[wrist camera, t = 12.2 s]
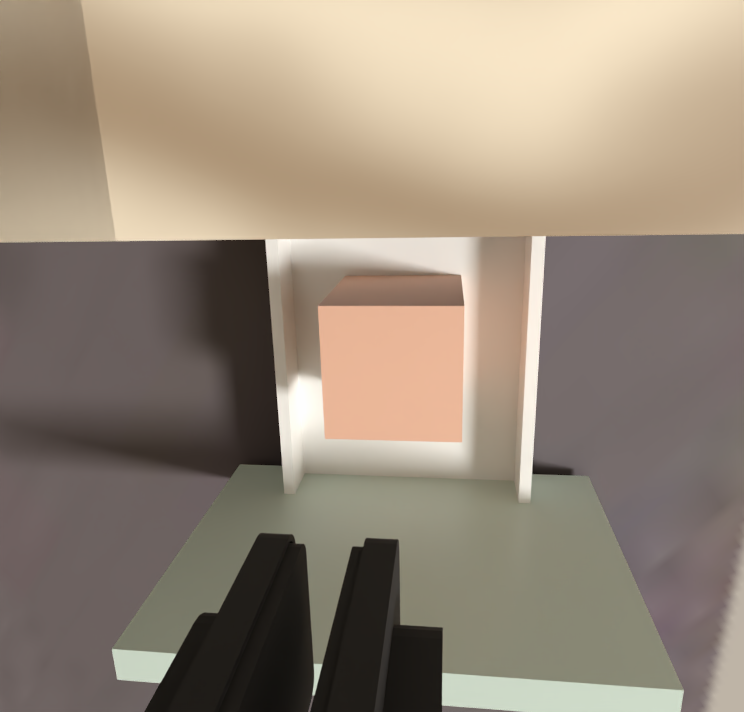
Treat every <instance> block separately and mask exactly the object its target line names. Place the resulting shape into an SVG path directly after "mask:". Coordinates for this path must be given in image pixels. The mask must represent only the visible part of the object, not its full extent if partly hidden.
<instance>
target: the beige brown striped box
mask: <svg viewBox="0 0 744 712" xmlns="http://www.w3.org/2000/svg"><path fill="white" fill-rule="evenodd" d="M690 234H744V0H0V242H83V241H170V240H256V239H343V238H430V237H516V236H603V235H690Z"/></svg>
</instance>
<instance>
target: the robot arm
mask: <svg viewBox="0 0 744 712" xmlns="http://www.w3.org/2000/svg"><path fill="white" fill-rule="evenodd" d="M442 658H443V628H442V627H427V626H411V625H400V559H399V540H398V539H380V538H366V539H365V541H364V546H363V547H358V546H353V547H352V549H351V553H350V557H349V561H348V565H347V569H346V573H345V577H344V581H343V584H342V588H341V592H340V596H339V600H338V604H337V608H336V612H335V616H334V620H333V624H332V628H331V632H330V636H329V640H328V644H327V648H326V652H325V656H324V660H323V664H322V668H321V672H320V676H319V680H318V684H317V688H316V692H315V695H314V699H313V703H312V707H311V711H310V712H442ZM313 686H314V661H313V646H312V631H311V615H310V600H309V585H308V569H307V554H306V547H305V545H304V544H297V543H295V538H294V536H293V535H292V534H274V533H260V534H259V535H258V536H257V538H256V540H255V542H254V544H253V546H252V548H251V549H250V551H249V553H248V555H247V557H246V559H245V561H244V563H243V565H242V567H241V569H240V571H239V573H238V575H237V577H236V579H235V581H234V583H233V585H232V586H231V588H230V590H229V592H228V594H227V596H226V598H225V600H224V602H223V604H222V606H221V608H220V610H219V612H218V613H207V612H204V613H202V614H200V615H199V616H198V618H197V619H196V620H195V622H194V623H193V625H192V627H191V629H190V631H189V632H188V634H187V636H186V638H185V640H184V641H183V643H182V645H181V647H180V649H179V650H178V652H177V654H176V656H175V658H174V659H173V661H172V663H171V665H170V667H169V668H168V670H167V672H166V674H165V676H164V678H163V679H162V681H161V683H160V685H159V687H158V688H157V690H156V692H155V694H154V696H153V697H152V699H151V701H150V703H149V705H148V706H147V708H146V710H145V712H308V710H309V706H310V702H311V698H312V693H313Z"/></svg>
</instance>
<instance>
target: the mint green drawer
mask: <svg viewBox="0 0 744 712" xmlns="http://www.w3.org/2000/svg"><path fill="white" fill-rule="evenodd" d="M545 240H546V236H516V237H430V238H343V239H265V242H266V256H267V269H268V282H269V296H270V309H271V322H272V336H273V349H274V363H275V376H276V389H277V403H278V416H279V429H280V443H281V456H282V466H274V465H244V464H240V465H239V466H238V468H237V469H236V471H235V472H234V474H233V475H232V476H231V478H230V479H229V481H228V482H227V484H226V485H225V487H224V488H223V489H222V491H221V492H220V494H219V495H218V497H217V498H216V500H215V501H214V502H213V504H212V505H211V507H210V508H209V510H208V511H207V512H206V514H205V515H204V517H203V518H202V520H201V521H200V523H199V524H198V525H197V527H196V528H195V530H194V531H193V533H192V534H191V536H190V537H189V538H188V540H187V541H186V543H185V544H184V546H183V547H182V549H181V550H180V551H179V553H178V554H177V556H176V557H175V559H174V560H173V562H172V563H171V564H170V566H169V567H168V569H167V570H166V572H165V573H164V574H163V576H162V577H161V579H160V580H159V582H158V583H157V585H156V586H155V587H154V589H153V590H152V592H151V593H150V595H149V596H148V598H147V599H146V600H145V602H144V603H143V605H142V606H141V608H140V609H139V611H138V612H137V613H136V615H135V616H134V618H133V619H132V621H131V622H130V624H129V625H128V626H127V628H126V629H125V631H124V632H123V634H122V635H121V636H120V638H119V639H118V641H117V642H116V644H115V645H114V647H113V648H112V653H113V658H114V664H115V669H116V675H117V680H128V681H141V682H153V683H161V681H162V679H163V678H164V676H165V674H166V672H167V670H168V668H169V667H170V665H171V663H172V661H173V659H174V658H175V656H176V654H177V652H178V650H179V649H180V647H181V645H182V643H183V641H184V640H185V638H186V636H187V634H188V632H189V631H190V629H191V627H192V625H193V623H194V622H195V620H196V619H197V618H198V616H199V615H200V614H202V613H204V612H207V613H218V612H219V610H220V608H221V606H222V604H223V602H224V600H225V598H226V596H227V594H228V592H229V590H230V588H231V586H232V585H233V583H234V581H235V579H236V577H237V575H238V573H239V571H240V569H241V567H242V565H243V563H244V561H245V559H246V557H247V555H248V553H249V551H250V549H251V548H252V546H253V544H254V542H255V540H256V538H257V536H258V535H259V534H260V533H274V534H292V535H293V536H294V538H295V543H297V544H304V545H305V547H306V554H307V569H308V585H309V600H310V615H311V631H312V646H313V661H314V686H313V693H312V695H315V692H316V688H317V684H318V680H319V676H320V672H321V668H322V664H323V660H324V656H325V652H326V648H327V644H328V640H329V636H330V632H331V628H332V624H333V620H334V616H335V612H336V608H337V604H338V600H339V596H340V592H341V588H342V584H343V581H344V577H345V573H346V569H347V565H348V561H349V557H350V553H351V549H352V547H353V546H358V547H363V546H364V541H365V539H366V538H380V539H398V540H399V559H400V625H411V626H427V627H442V628H443V658H442V705H445V706H458V707H471V708H484V709H496V710H509V711H522V712H680V711H681V704H682V698H683V692H684V690H683V688H682V686H681V683H680V681H679V679H678V677H677V674H676V672H675V670H674V668H673V665H672V663H671V661H670V659H669V656H668V654H667V652H666V650H665V647H664V645H663V643H662V641H661V638H660V636H659V634H658V632H657V629H656V627H655V625H654V623H653V620H652V618H651V616H650V614H649V611H648V609H647V607H646V605H645V602H644V600H643V598H642V596H641V593H640V591H639V589H638V587H637V585H636V582H635V580H634V578H633V576H632V573H631V571H630V569H629V567H628V564H627V562H626V560H625V558H624V555H623V553H622V551H621V549H620V546H619V544H618V542H617V540H616V537H615V535H614V533H613V531H612V528H611V526H610V524H609V522H608V519H607V517H606V515H605V513H604V510H603V508H602V506H601V504H600V501H599V499H598V497H597V495H596V492H595V490H594V488H593V486H592V483H591V481H590V479H589V477H588V476H571V475H542V474H532V465H533V448H534V431H535V413H536V396H537V379H538V361H539V344H540V327H541V309H542V292H543V275H544V257H545ZM390 275H461V279H462V288H463V297H464V360H463V415H462V442H427V441H389V440H351V439H325V432H324V413H323V395H322V376H321V357H320V338H319V320H318V305H319V304H320V303H321V302H322V301H323V300H324V299H325V297H326V296H327V295H328V294H329V293H330V292H331V291H332V290H333V289H334V288H335V287H336V285H337V284H338V283H339V282H340V281H341V280H342V279H343V278H344V277H345V276H390Z"/></svg>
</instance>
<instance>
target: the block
mask: <svg viewBox="0 0 744 712" xmlns="http://www.w3.org/2000/svg"><path fill="white" fill-rule="evenodd" d="M318 320H319V338H320V357H321V376H322V395H323V413H324V432H325V439H351V440H389V441H427V442H462V415H463V360H464V297H463V288H462V279H461V275H390V276H345V277H344V278H343V279H342V280H341V281H340V282H339V283H338V284H337V285H336V287H335V288H334V289H333V290H332V291H331V292H330V293H329V294H328V295H327V296H326V297H325V299H324V300H323V301H322V302H321V303H320V304H319V305H318Z"/></svg>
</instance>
